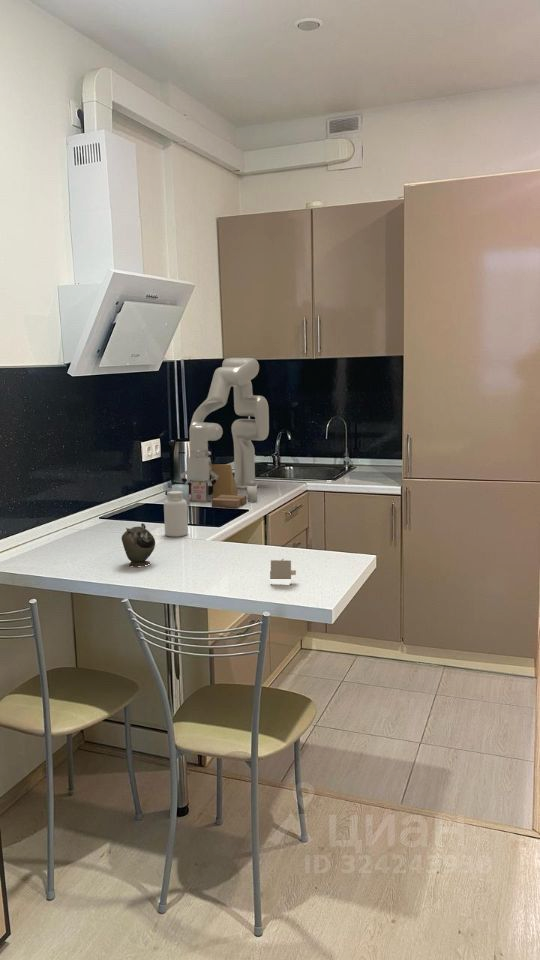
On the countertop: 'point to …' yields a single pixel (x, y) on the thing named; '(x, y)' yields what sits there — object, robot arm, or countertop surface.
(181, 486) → the mug
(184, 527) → the pill bottle
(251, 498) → the salt shaker
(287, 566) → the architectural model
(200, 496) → the tea bag
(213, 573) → the countertop surface
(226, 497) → the podium
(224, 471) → the sandwich container
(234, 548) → the countertop surface
